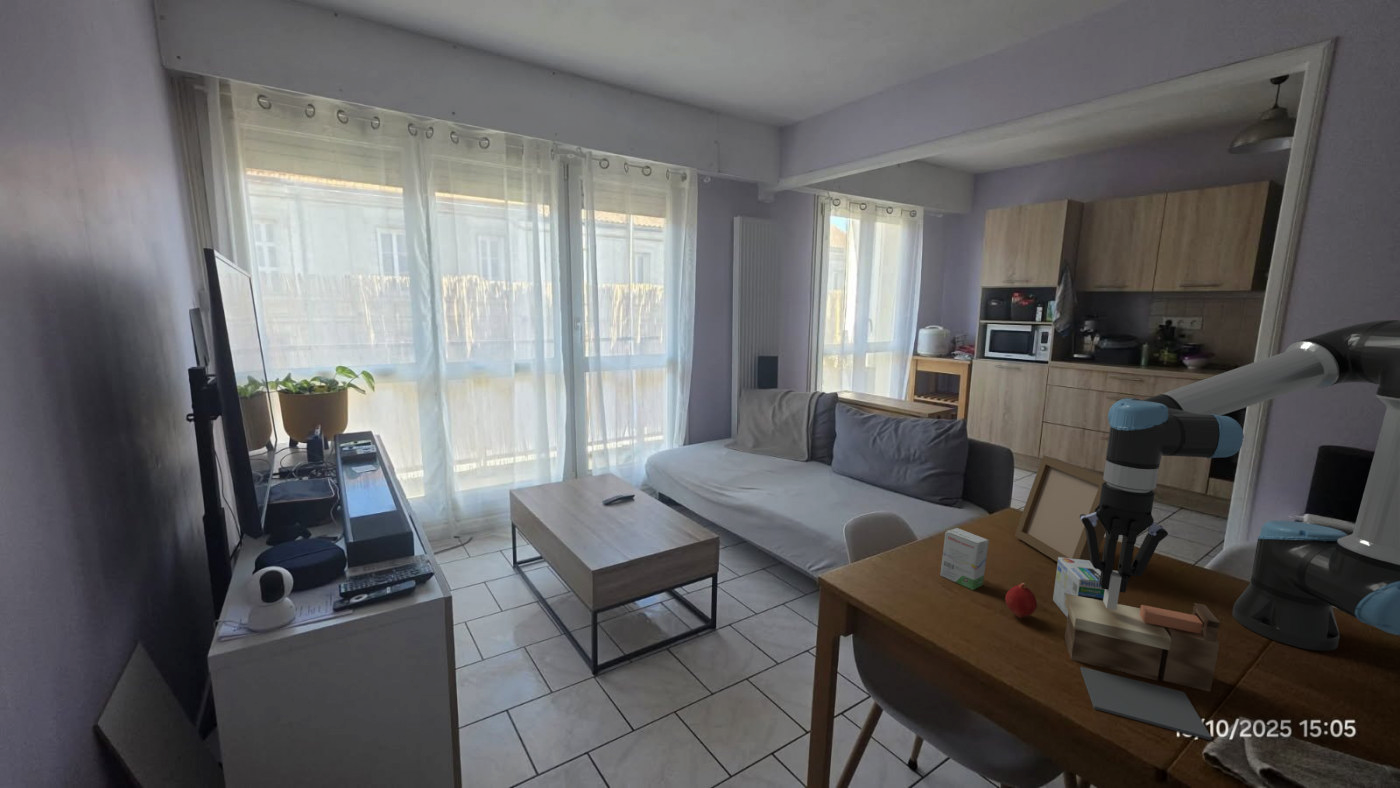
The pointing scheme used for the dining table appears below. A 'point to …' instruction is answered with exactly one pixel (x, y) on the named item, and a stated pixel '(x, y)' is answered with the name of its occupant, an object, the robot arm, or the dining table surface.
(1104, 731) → the dining table surface
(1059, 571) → the light bulb box
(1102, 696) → the mat
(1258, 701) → the dining table surface
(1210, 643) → the wooden box
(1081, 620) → the lid
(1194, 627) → the orange rectangular block
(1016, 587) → the onion
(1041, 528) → the photo frame
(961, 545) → the ink box
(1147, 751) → the dining table surface
